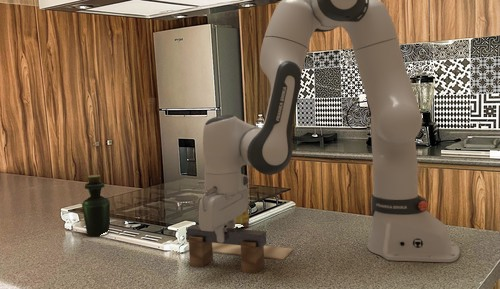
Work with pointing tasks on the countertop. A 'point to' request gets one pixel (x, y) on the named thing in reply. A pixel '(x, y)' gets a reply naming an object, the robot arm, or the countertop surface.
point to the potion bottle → (96, 208)
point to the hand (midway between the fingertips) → (225, 239)
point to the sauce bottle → (244, 217)
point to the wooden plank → (269, 251)
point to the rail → (229, 235)
